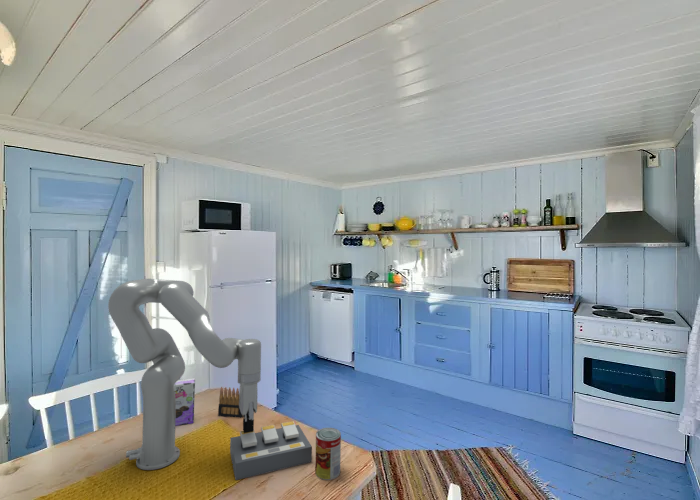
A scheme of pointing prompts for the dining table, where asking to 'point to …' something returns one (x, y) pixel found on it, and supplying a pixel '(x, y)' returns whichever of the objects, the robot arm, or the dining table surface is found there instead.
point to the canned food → (328, 453)
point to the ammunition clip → (229, 404)
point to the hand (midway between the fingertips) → (248, 430)
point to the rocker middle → (269, 434)
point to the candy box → (184, 401)
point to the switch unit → (269, 454)
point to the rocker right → (289, 430)
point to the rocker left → (248, 439)
